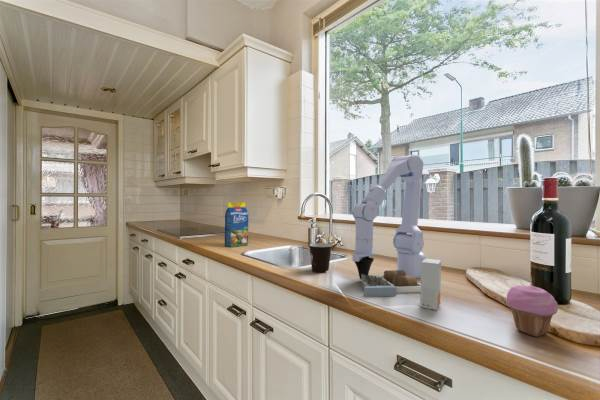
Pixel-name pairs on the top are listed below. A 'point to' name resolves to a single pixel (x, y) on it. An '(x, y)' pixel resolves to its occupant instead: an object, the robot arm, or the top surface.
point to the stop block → (379, 291)
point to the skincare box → (430, 283)
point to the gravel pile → (372, 280)
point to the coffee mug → (320, 257)
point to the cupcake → (531, 309)
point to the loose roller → (404, 281)
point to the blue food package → (236, 225)
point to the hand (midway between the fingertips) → (363, 279)
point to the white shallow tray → (405, 287)
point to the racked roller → (393, 274)
